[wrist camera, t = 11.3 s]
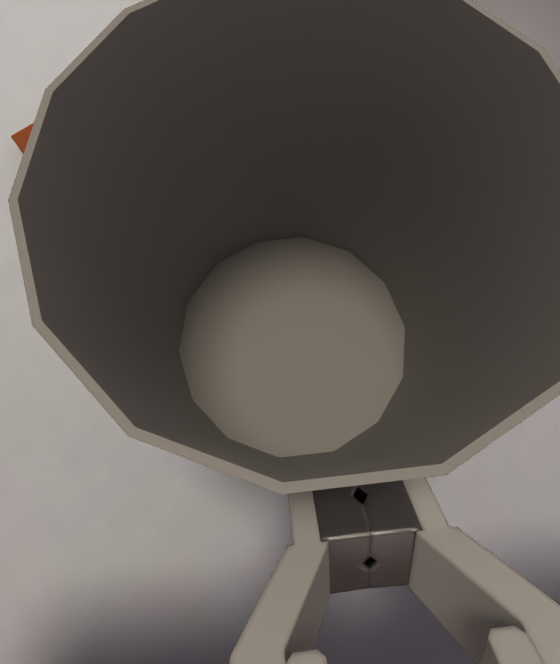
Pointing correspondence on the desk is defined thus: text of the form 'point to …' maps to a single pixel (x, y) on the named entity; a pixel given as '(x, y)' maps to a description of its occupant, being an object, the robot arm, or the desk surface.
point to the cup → (301, 233)
